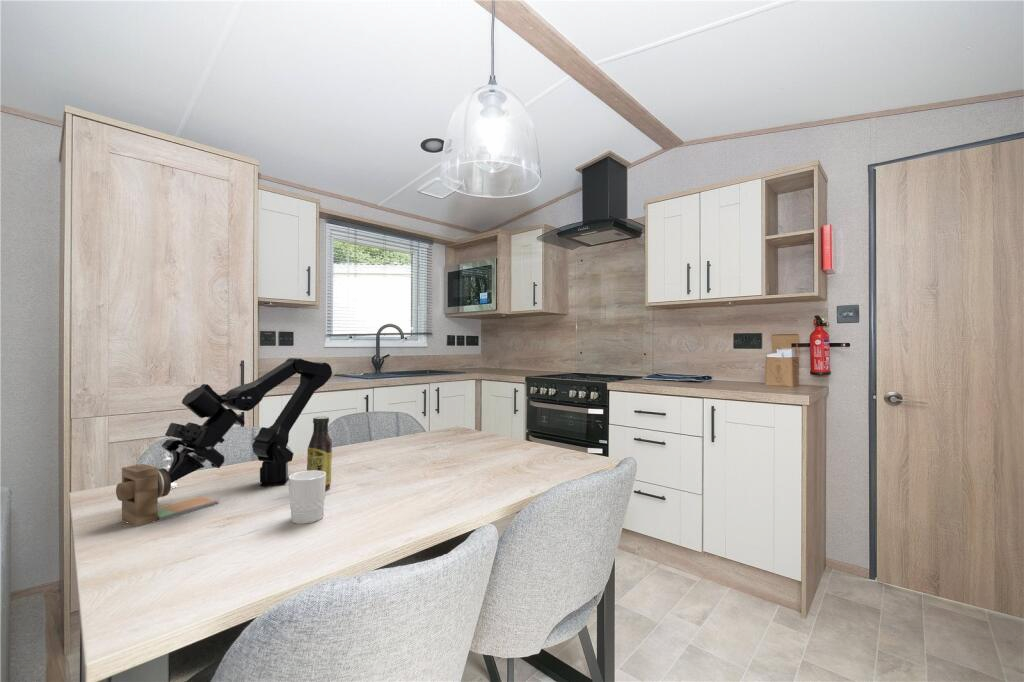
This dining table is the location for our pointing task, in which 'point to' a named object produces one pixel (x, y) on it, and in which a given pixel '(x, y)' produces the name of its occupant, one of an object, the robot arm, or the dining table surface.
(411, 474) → the dining table surface
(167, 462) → the chess piece
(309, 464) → the sauce bottle
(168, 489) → the peg
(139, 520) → the block
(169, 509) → the board
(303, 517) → the white cup
